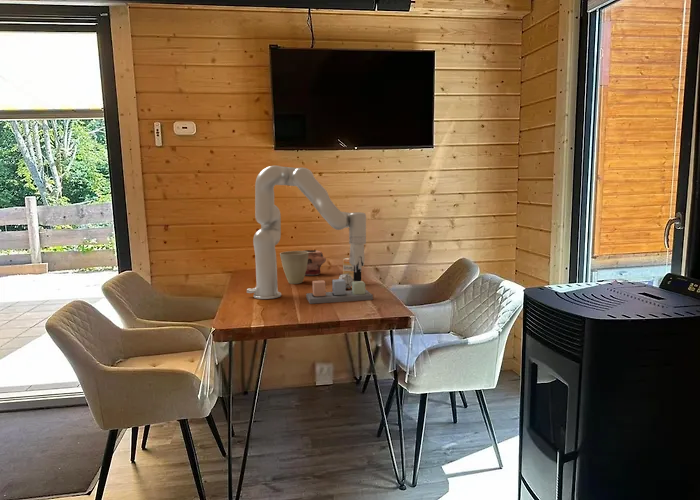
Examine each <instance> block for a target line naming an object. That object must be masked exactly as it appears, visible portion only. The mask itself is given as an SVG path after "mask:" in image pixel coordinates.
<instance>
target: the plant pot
mask: <svg viewBox="0 0 700 500" xmlns="http://www.w3.org/2000/svg"><path fill="white" fill-rule="evenodd" d="M308 254H309V252H307V251H305V250H291V251H290V250H289V251H288V250H287V251H282V252H280V253H279V256H280V260H281V265H282V268H283V272H284V274H285V278H286V279H287V280H286V281H287V282H288V284H290V285H298V284H302V283H303V282H304V279H305V276H306V275H305V273H306V268H307V263H308Z"/></svg>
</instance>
